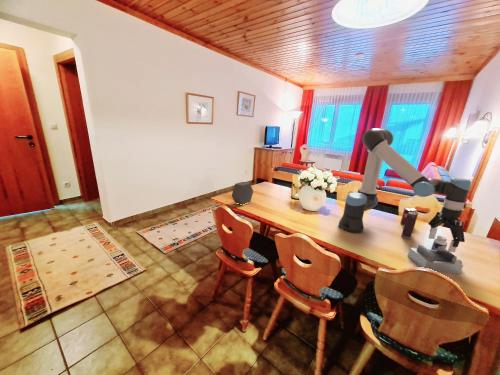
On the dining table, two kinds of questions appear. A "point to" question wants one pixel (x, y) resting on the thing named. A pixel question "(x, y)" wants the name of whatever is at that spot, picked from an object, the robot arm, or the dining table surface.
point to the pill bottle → (439, 243)
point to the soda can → (405, 213)
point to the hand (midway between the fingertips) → (440, 244)
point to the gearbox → (436, 259)
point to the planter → (242, 192)
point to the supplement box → (409, 224)
